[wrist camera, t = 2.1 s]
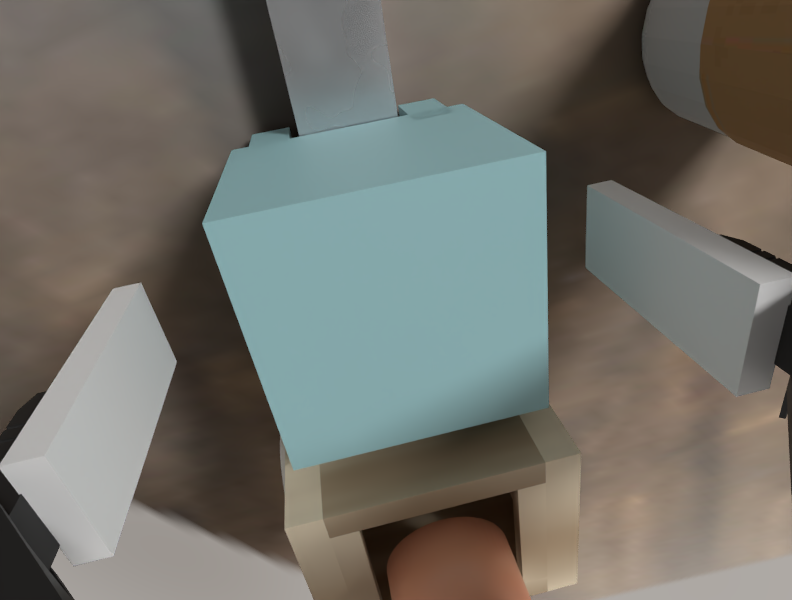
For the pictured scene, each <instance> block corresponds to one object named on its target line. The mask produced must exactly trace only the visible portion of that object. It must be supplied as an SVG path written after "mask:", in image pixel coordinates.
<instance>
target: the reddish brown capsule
mask: <svg viewBox="0 0 792 600" xmlns="http://www.w3.org/2000/svg"><path fill="white" fill-rule="evenodd" d="M387 576H388V581H389V587H390V593H391V599H392V600H531V598H530V595H529V593H528V590H527V588H526V585H525V583H524V580H523V578H522V575H521V573H520V571H519V568H518V566H517V563H516V561H515V558H514V556H513V553H512V551H511V548H510V546H509V543H508V541H507V538H506V536H505V534H504V532H503V531H502V530H501V529H500V528H499V527H498V526H497V525H495V524H494V523H492V522H490V521H487V520H484V519H481V518H475V517H453V518H447V519H442V520H439V521H435V522H432V523H430V524H427V525H425V526H423V527H421V528H419V529H417V530H415V531H414V532H412V533H410V534H409V535H408V536H406V537H405V538H404V539H403V540H402V541H401V542H400V543H399V544H398V545H397V546H396V547H395V548H394V550H393V551H392V553H391V555H390V557H389V559H388V563H387Z"/></svg>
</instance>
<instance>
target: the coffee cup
mask: <svg viewBox="0 0 792 600" xmlns="http://www.w3.org/2000/svg"><path fill="white" fill-rule="evenodd" d="M642 59H643V63H644V66H645V70H646V74H647V77H648V79H649V81H650V85H651V87H652V89H653V90H654V92H655V93H656V95H657V97H658V98H659V100H660V101H661V103H662V104H663V105H664V106H666V107H667V108H668V109H669V110H671V111H672V112H673V113H675V114H676V115H677V116H679V117H682V118H684V119H687V120H689V121H692V122H694V123H697V124H699V125H701V126H704V127H706V128H709V129H711V130H714V131H716V132H719V133H721V134H723V135H726V136H728V137H730V138H731V139H732V140H734V141H735V142H736V143H738V144H741V145H743V146H746V147H748V148H750V149H753V150H755V151H758V152H760V153H762V154H765V155H767V156H769V157H772V158H774V159H777V160H779V161H781V162H784V163H786V164H789V165H791V166H792V0H651V1H650V4H649V6H648V8H647V12H646V17H645V22H644V27H643V32H642Z"/></svg>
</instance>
